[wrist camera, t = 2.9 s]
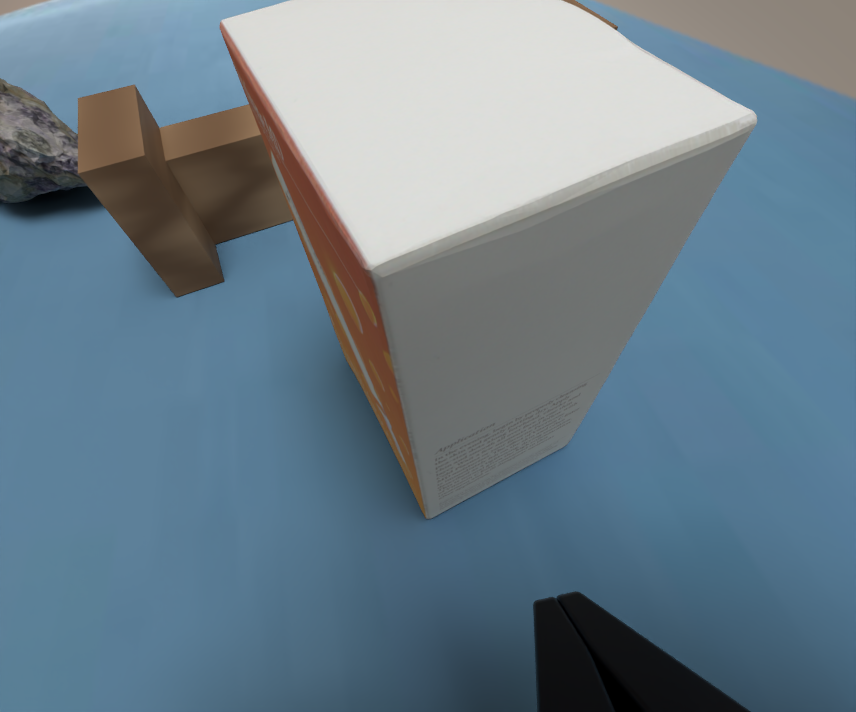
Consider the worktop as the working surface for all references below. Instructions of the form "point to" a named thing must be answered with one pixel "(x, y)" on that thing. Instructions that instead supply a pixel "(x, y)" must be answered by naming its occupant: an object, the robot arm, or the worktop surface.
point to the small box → (480, 207)
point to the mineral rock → (34, 148)
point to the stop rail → (181, 181)
